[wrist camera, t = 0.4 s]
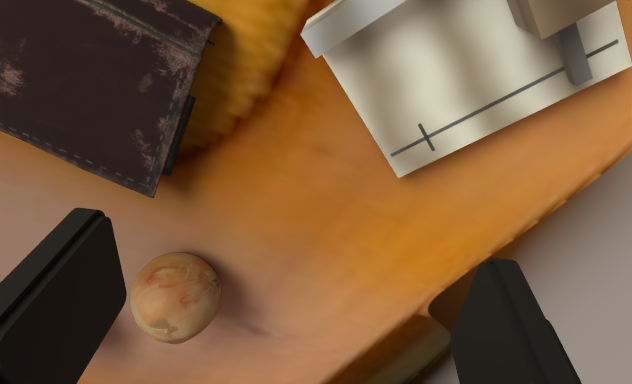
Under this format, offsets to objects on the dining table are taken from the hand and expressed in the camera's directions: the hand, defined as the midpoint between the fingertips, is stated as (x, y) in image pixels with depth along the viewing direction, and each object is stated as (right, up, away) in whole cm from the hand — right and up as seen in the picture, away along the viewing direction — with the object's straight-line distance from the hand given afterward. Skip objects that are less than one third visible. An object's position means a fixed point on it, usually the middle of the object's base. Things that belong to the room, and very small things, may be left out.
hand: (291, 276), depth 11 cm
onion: (-15, -7, +40) cm, 43 cm away
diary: (-22, +16, +27) cm, 38 cm away
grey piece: (+13, +15, +23) cm, 31 cm away
